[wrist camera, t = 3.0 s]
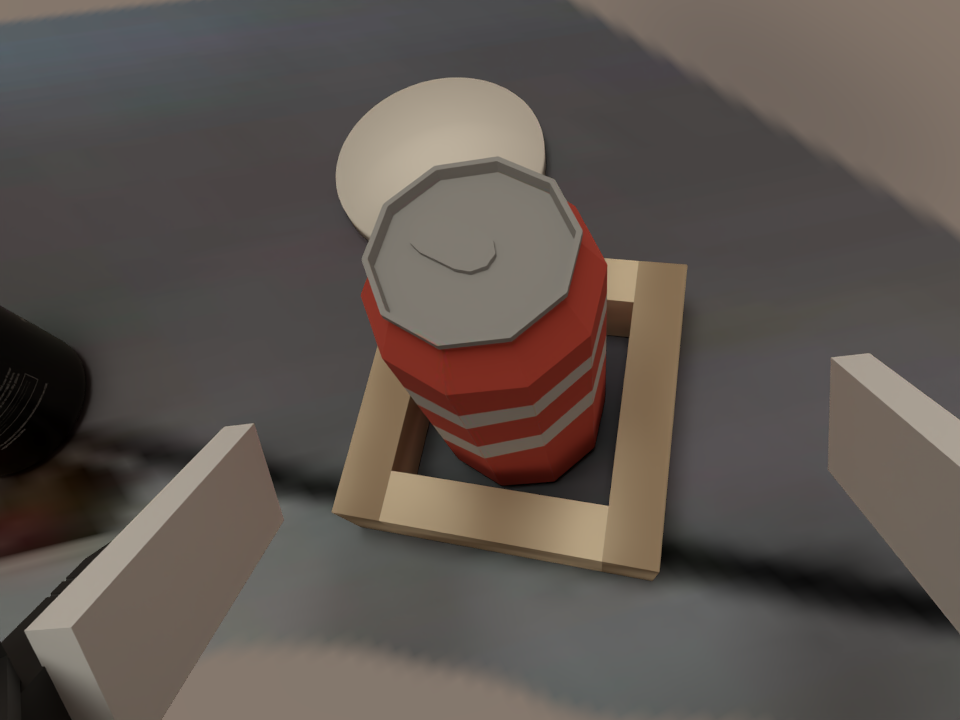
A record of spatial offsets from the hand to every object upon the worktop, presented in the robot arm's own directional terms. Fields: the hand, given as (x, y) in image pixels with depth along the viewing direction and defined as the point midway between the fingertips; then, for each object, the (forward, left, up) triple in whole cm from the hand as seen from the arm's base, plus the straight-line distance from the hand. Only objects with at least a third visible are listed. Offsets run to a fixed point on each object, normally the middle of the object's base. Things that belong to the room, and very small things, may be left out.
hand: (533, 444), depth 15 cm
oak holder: (-2, +4, -10) cm, 11 cm away
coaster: (-8, +16, -10) cm, 20 cm away
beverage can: (-2, +4, -10) cm, 11 cm away
